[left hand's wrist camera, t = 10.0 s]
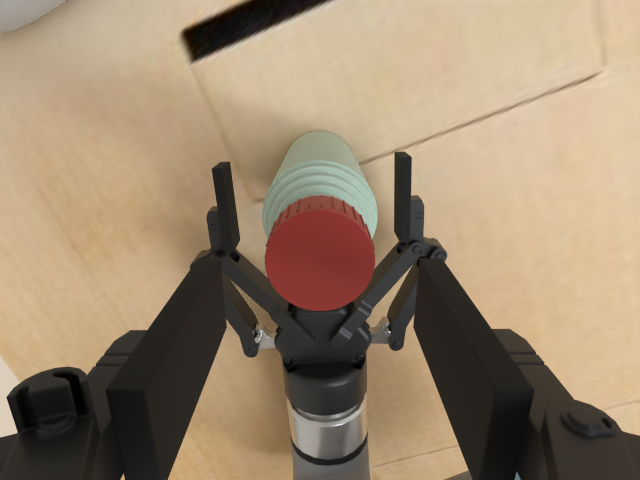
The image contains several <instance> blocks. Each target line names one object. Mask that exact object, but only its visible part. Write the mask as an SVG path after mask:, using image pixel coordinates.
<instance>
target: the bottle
mask: <svg viewBox="0 0 640 480" xmlns="http://www.w3.org/2000/svg"><path fill="white" fill-rule="evenodd" d="M321 194H322V195H323V196H330V197H332V196H334V198H338V199H340V200H342V201H343V200H345V202H346V203H348V204H349V205H351V206H354V208H355V210H356V211H357V212H358V213H359V214H361V215H362V218H363V220H364V222H365V224H367V226H368V229H369V232H370V235H371V239H372V238H373V236H374V233H375V230H376V226H377V219H378V210H377V204H376V200H375V197H374V195H373V193H372V190H371V188H370V186H369V184H368V182H367V180H366V178H365V176H364V174H363V172H362V170H361V168H360V166H359V164H358V162H357V160H356V158H355V156H354V154H353V152H352V150H351V148H350V147H349V145H348V144H347V143H346V141H345V140H343V139H342V138H341V137H340V136H338V135H336V134H334V133H331V132H328V131H312V132H309V133H306V134H304V135H302V136H300V137H299V138H298V139H297V140H295V141H294V143H293V144H292V145H291V147H290V148H289V150H288V152H287V154H286V156H285V158H284V160H283V162H282V164H281V166H280V168H279V170H278V172H277V174H276V176H275V178H274V180H273V182H272V184H271V186H270V188H269V190H268V192H267V195H266V197H265V200H264V204H263V210H262V220H263V226H264V230H265V233H266V236H267V238H269V235H270V232H271V230H272V227H273V224H274V221H276V220H277V219H278V217H279V215H280V212H283V211H284V210H285V209H286V208H287V207H288V205H289V204H290V205H291V204H292V203H294V202H296V201H298V199H302V198H305V197H309V195H311V196H318V195H321Z"/></svg>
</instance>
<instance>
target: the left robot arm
mask: <svg viewBox="0 0 640 480" xmlns="http://www.w3.org/2000/svg"><path fill="white" fill-rule="evenodd" d="M226 327H227V326H226V315H225V304H224V293H223V282H222V271H221V260H220V258H198V260H197V261H196V262H195V264H194V265H193V267H192V268H191V269H190V271H189V272H188V274H187V275H186V277H185V278H184V279H183V281H182V282H181V284H180V285H179V286H178V288H177V289H176V291H175V292H174V293H173V295H172V296H171V298H170V299H169V301H168V302H167V303H166V305H165V306H164V308H163V309H162V310H161V312H160V313H159V315H158V316H157V318H156V319H155V320H154V322H153V323H152V325H151V326H150V327H149V329H148V330H130V331H129V332H127V333H126V334H124V335H123V336H121V337H120V338H118V339H117V340H115V341H114V342H113V344H112V345H111V346H110V347H109V349H108V350H107V351H106V352H105V355H104V356H102V357H101V358H100V360H99V361H98V362H97V363H96V367H93V368H92V370H91V371H90V372H89V373H88V375H87V376H86V373H85V372H83V371H82V370H81V369H79V368H73V367H61V368H54V369H50V370H47V371H43V372H40V373H38V374H36V375H34V376H31V377H29V378H27V379H25V380H24V381H23V382H21V383H20V384H18V385H17V386H16V387H14V388H13V390H12V391H11V392H10V393H9V395H8V396H7V400H8V403H9V406H10V409H11V413H12V416H13V419H14V422H15V425H16V428H17V431H18V433H17V434H13V435H9V436H5V437H1V438H0V480H120V479H121V477H122V475H123V473H124V477H125V480H168V477H169V475H170V472H171V469H172V467H173V464H174V462H175V459H176V457H177V454H178V451H179V449H180V446H181V444H182V441H183V438H184V436H185V433H186V431H187V428H188V426H189V423H190V420H191V418H192V415H193V413H194V410H195V407H196V405H197V402H198V400H199V397H200V395H201V392H202V389H203V387H204V384H205V382H206V379H207V377H208V374H209V371H210V369H211V366H212V364H213V361H214V358H215V356H216V353H217V351H218V348H219V346H220V343H221V340H222V338H223V335H224V333H225V330H226ZM413 327H414V330H415V333H416V335H417V338H418V340H419V343H420V346H421V348H422V351H423V353H424V356H425V358H426V361H427V364H428V366H429V369H430V371H431V374H432V377H433V379H434V382H435V384H436V387H437V389H438V392H439V395H440V397H441V400H442V402H443V405H444V407H445V410H446V413H447V415H448V418H449V420H450V423H451V426H452V428H453V431H454V433H455V436H456V438H457V441H458V444H459V446H460V449H461V451H462V454H463V457H464V459H465V462H466V464H467V467H468V469H469V472H470V475H471V477H472V480H515V477H516V472H517V473H518V475H519V477H520V479H521V480H640V436H638V435H634V434H630V433H626V432H623V431H622V430H621V429H620V427H619V426H618V424H617V423H616V422H615V421H614V420H613V419H612V418H611V417H609V416H608V415H607V414H606V413H605V412H603V411H601V410H599V409H597V408H596V407H594V406H592V405H590V404H587V403H583V402H580V401H577V400H574V399H573V397H572V396H571V395H570V394H569V392H568V391H567V390H566V389H565V388H564V386H563V385H562V384H561V383H560V381H559V380H558V379H557V378H556V376H555V375H554V374H553V373H552V372H551V370H550V369H549V368H548V367H547V365H544V362H543V360H542V359H541V358H540V357H539V355H536V352H535V351H534V349H533V348H532V347H531V346H530V344H529V343H528V342H527V341H526V340H525V339H524V338H522V337H521V336H519V335H518V334H516V333H515V332H513V331H512V330H510V329H491V327H490V326H489V325H488V323H487V322H486V320H485V319H484V318H483V316H482V315H481V313H480V312H479V310H478V309H477V308H476V306H475V305H474V303H473V302H472V301H471V299H470V298H469V296H468V295H467V293H466V292H465V291H464V289H463V288H462V286H461V285H460V284H459V282H458V281H457V279H456V278H455V277H454V275H453V274H452V272H451V271H450V269H449V268H448V267H447V265H446V264H445V262H444V261H443V260H442V258H420V260H419V271H418V282H417V293H416V304H415V315H414V326H413Z"/></svg>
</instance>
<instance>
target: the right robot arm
mask: <svg viewBox="0 0 640 480" xmlns="http://www.w3.org/2000/svg"><path fill="white" fill-rule="evenodd" d="M411 162H412V157H411V156H409V155H408V154H407V153H406V152H395V186H394V232H395V234H396V236H397V238H398V240H399V242H398V243H397V244H396V245H395V246H394V248H393V249H392V250H391V251H390V252H389V253H388V254H387V256H386V257H385V258H384V259H383V260H382V261H381V262H380V264H379V265H378V266H377V267H376V268H375V269H374V272H373V275H372V278H371V280H370V282H369V284H368V286H367V287H366V289H365V290H364V291H363V292H362V293H361V294H360V295H359V296H358V297H357V298H356V299H355V300H353V301H352V302H350V303H349V304H347V305H345V306H342V307H340V308H337V309H333V310H327V311H313V310H307V309H303V308H300V307H298V306H295V305H293V304H291V303H290V302H288V301H287V300H285V299H284V298H283V297H282V296H281V295H280V294H279V293H278V292H277V291H276V290H275V289H274V287H273V286H272V284H271V282H270V280H269V279H268V278H267V277H266V276H265V275H264V274H263V273H261V272H260V271H259V270H258V269H257V268H256V267H255V266H254V265H253V264H252V263H250V262H249V261H248V260H247V259H246V258H245V257H244V256H243V255H242V254H241V253H239V252H238V251H237V250H236V247H237V245H238V243H239V241H240V235H239V227H238V220H237V212H236V205H235V197H234V189H233V182H232V174H231V167H230V162H220V163H219V164H217V165H216V166H215V167H213V168H212V173H213V180H214V187H215V193H216V200H217V207H212V208H211V209H210V210H209V211H208V214H207V225H208V230H209V237H210V243H211V249H209V250H203V251H201V252H200V253H199V254H198V255H197V257H196V258H195V259H194V261H193V262H192V264H191V266H190V269H191V268H192V267H193V265H194V264H195V262H196V261H197V260H198V258H220V260H221V271H222V282H223V293H224V304H225V315H226V319H227V320H228V322H229V323H230V324H231V326H232V327H233V328H234V330H235V331H236V332H237V334H238V335H239V337H240V340H241V344H242V347H243V351H244V354H245V355H246V356H247V357H255V356H256V355H257V353H258V350H262V349H269V348H275V347H276V349H277V350H278V351H279V352H280V354H281V357H282V363H283V373H284V382H285V391H286V395H287V400H286V402H287V410H288V418H289V426H290V436H291V442H292V455H293V480H370V472H369V456H368V439H367V436H368V406H367V392H366V390H367V362H366V352H367V349H368V347H369V345H370V344H371V343H380V344H389V347H390V348H391V349H392V350H394V351H398V350H400V349H401V348H402V347H403V344H404V337H405V331H406V327H407V325H408V324H409V322H410V320H411V319H412V317H413V315H414V313H415V304H416V293H417V282H418V271H419V260H420V258H442V260H443V261H444V262H445V260H446V258H447V253H446V251H445V250H444V248H443V247H442V246H441V244H440V243H439V242H438V240H436V239H434V238H431V239H429V238H425V237H423V228H424V205H423V202H422V200H421V199H420V198H419V196H418V195H417V196H411ZM413 263H414V264H413ZM411 266H412V267H411ZM410 267H411V269H410V271H409V273H408V275H407V276H406V278H405V280H404V282H403V284H402V285H401V287H400V289H399V291H398V293H397V294H396V296H395V298H394V300H393V302H392V303H391V305H390V308H389V310H388V313H387V317H382V318H381V320H380V321H379V323H378V325H377V326H376V327H373V328H370V326H369V325H368V323H367V322H366V321H365V320H366V319H367V318H368V317H369V316H370V314H371V311H372V309H373V308H374V307H375V305H376V304H377V303H378V302H379V301H380V300H381V299H382V298H383V297H384V296H385V294H386V293H387V292H388V291H389V290H390V289H391V288H392V287H393V286H394V284H395V283H396V282H397V281H398V280H399V279H400V278H401V277H402V276H403V275H404V273H405V272H406V271H407V270H408V269H409V268H410ZM230 279H231V280H232V281H233V282H234V283H235V284H236V285H237V286H238V287H240V288H241V289H242V290H243V291H244V292H245V293H246V294H248V295H249V296H250V297H251V298H252V299H253V300H254V301H255V302H257V303H258V304H259V305H260V306H261V307H262V308H263V309H265V310H266V311H267V312H268V313H269V314H270V316H271V318H272V320H273V321H274V322H275V323H276V324H277V325H278V326H279V327H278V328H277V330H276V332H270V331H268V330H267V328H266V327H265V326H264V324H263V323H258V321H257V318H256V316H255V314H254V313H253V311H252V310H251V308H250V307H249V306H248V304H247V303H246V301H245V300H244V299H243V297H242V296H241V294H240V293H239V292H238V290H237V289H236V287H235V286H234V285H233V283H232V282H231V280H230ZM445 480H472V477H471V475H470V472H469V471H466V472H463V473H461V474H458V475H455V476H453V477H450V478H447V479H445ZM515 480H521V479H520V477H519V475H518V473H517V472H516V477H515Z"/></svg>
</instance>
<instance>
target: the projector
mask: <svg viewBox="0 0 640 480" xmlns="http://www.w3.org/2000/svg"><path fill="white" fill-rule="evenodd" d="M65 1H66V0H0V33H6V32H10V31H14V30H16V29H19V28H21V27H23V26H26V25H27V24H29V23H31V22H33V21H35V20H37V19H39V18H40V17H42V16H44V15H45V14H47V13H49V12H50V11H52V10H53V9H55V8H56V7H58V6H59V5H61V4H62V3H64V2H65Z"/></svg>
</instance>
